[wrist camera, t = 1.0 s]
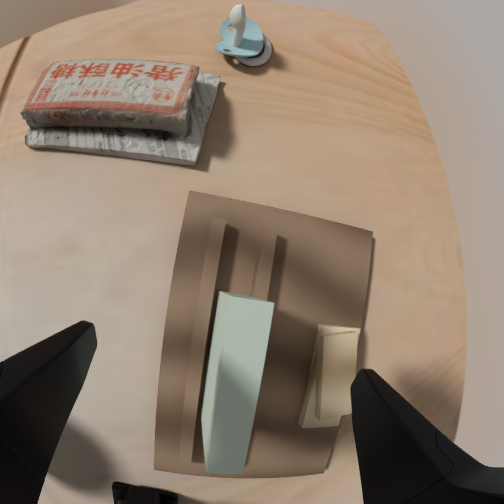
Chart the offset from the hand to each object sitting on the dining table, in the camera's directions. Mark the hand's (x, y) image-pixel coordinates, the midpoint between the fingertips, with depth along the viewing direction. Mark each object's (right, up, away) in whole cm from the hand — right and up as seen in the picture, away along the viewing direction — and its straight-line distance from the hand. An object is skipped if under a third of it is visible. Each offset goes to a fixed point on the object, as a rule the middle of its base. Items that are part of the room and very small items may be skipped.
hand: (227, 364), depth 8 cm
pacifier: (0, +25, +17) cm, 30 cm away
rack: (+2, -5, +13) cm, 14 cm away
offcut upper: (+7, -6, +12) cm, 16 cm away
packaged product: (-12, +17, +14) cm, 25 cm away
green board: (-2, -4, +12) cm, 13 cm away
